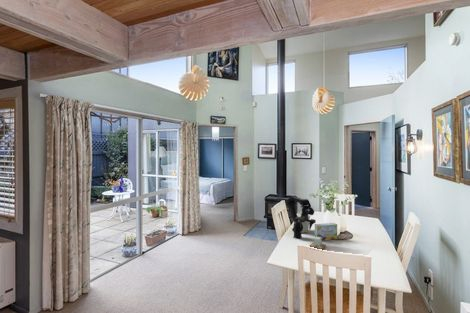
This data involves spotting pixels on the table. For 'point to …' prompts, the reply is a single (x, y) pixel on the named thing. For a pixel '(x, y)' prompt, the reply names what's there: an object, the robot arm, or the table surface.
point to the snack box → (326, 231)
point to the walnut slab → (318, 246)
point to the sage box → (317, 241)
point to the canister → (305, 224)
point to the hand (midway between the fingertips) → (305, 229)
